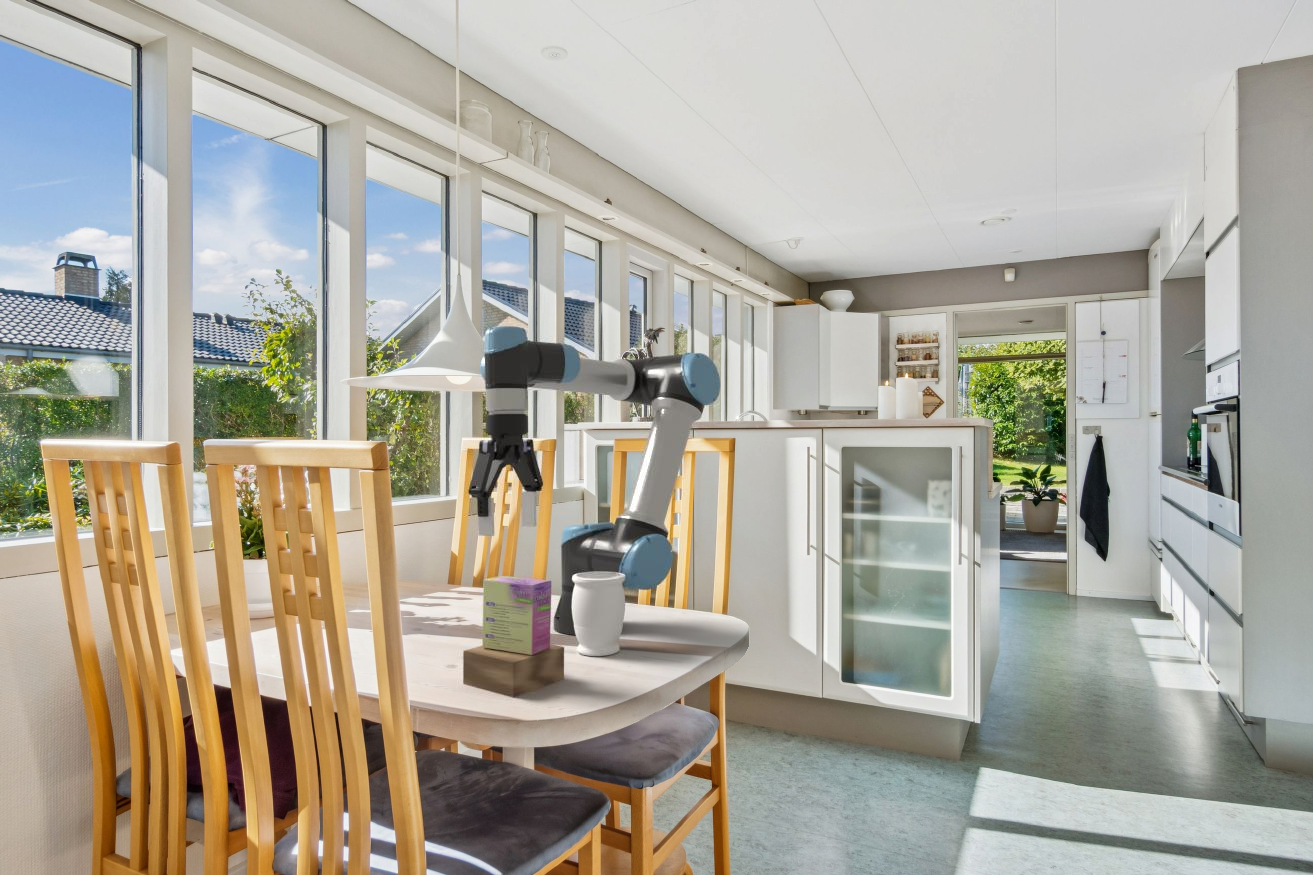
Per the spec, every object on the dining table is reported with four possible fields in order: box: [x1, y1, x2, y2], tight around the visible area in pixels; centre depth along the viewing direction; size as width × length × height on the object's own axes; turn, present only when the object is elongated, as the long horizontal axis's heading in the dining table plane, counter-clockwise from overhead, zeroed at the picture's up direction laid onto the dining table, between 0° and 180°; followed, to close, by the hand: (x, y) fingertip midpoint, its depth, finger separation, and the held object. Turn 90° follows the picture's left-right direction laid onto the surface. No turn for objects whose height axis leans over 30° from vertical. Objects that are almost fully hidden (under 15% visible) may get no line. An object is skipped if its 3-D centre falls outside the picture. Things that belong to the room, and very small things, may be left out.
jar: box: [572, 571, 626, 657], centre depth 153 cm, size 11×10×15 cm
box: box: [481, 575, 552, 655], centre depth 133 cm, size 10×6×12 cm, turn 64°
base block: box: [462, 643, 565, 698], centre depth 133 cm, size 12×12×6 cm
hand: (508, 530), depth 140 cm, fingers open, 13 cm apart
